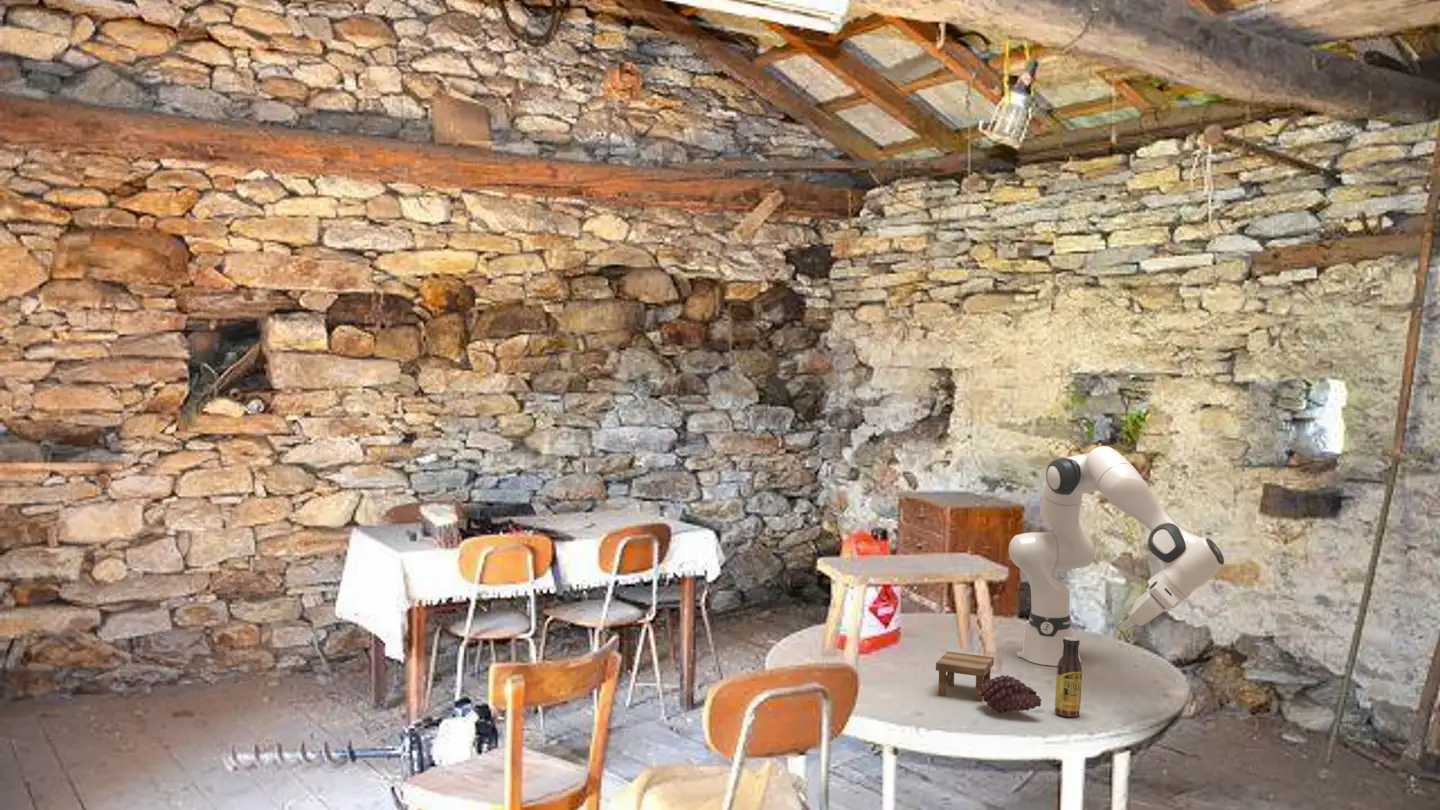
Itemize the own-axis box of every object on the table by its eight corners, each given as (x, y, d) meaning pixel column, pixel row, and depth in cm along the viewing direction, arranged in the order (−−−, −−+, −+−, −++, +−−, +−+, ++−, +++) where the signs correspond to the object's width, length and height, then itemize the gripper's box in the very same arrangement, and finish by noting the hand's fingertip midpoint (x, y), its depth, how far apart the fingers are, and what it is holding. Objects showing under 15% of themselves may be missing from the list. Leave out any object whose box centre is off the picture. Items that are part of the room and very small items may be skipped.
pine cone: (1047, 717, 282) (1048, 678, 281) (1030, 726, 274) (1031, 687, 274) (984, 701, 293) (985, 665, 293) (966, 710, 286) (967, 672, 285)
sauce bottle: (1063, 719, 280) (1065, 642, 279) (1049, 711, 286) (1051, 636, 285) (1085, 717, 282) (1088, 640, 281) (1071, 709, 288) (1074, 634, 287)
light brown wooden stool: (946, 682, 310) (947, 651, 309) (993, 689, 304) (993, 657, 304) (935, 695, 298) (935, 663, 298) (983, 702, 293) (984, 669, 292)
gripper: (1158, 573, 283) (1117, 607, 288) (1153, 588, 265) (1109, 623, 269) (1177, 592, 281) (1135, 625, 286) (1173, 608, 263) (1128, 644, 267)
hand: (1122, 625), depth 277 cm, fingers open, 8 cm apart
